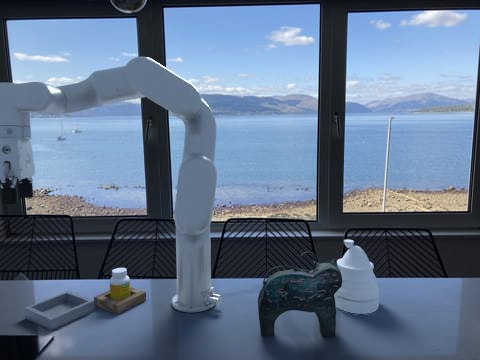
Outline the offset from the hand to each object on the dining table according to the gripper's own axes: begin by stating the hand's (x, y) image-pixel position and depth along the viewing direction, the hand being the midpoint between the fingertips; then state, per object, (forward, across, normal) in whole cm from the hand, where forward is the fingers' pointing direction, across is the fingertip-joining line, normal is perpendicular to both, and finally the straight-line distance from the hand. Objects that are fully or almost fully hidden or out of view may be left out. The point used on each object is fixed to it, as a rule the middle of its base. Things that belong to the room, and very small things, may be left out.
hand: (18, 200), depth 91 cm
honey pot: (+31, -11, -89) cm, 95 cm away
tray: (+31, -2, -9) cm, 32 cm away
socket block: (+31, +2, -24) cm, 39 cm away
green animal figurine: (+31, -23, -68) cm, 78 cm away
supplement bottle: (+31, +2, -24) cm, 39 cm away
